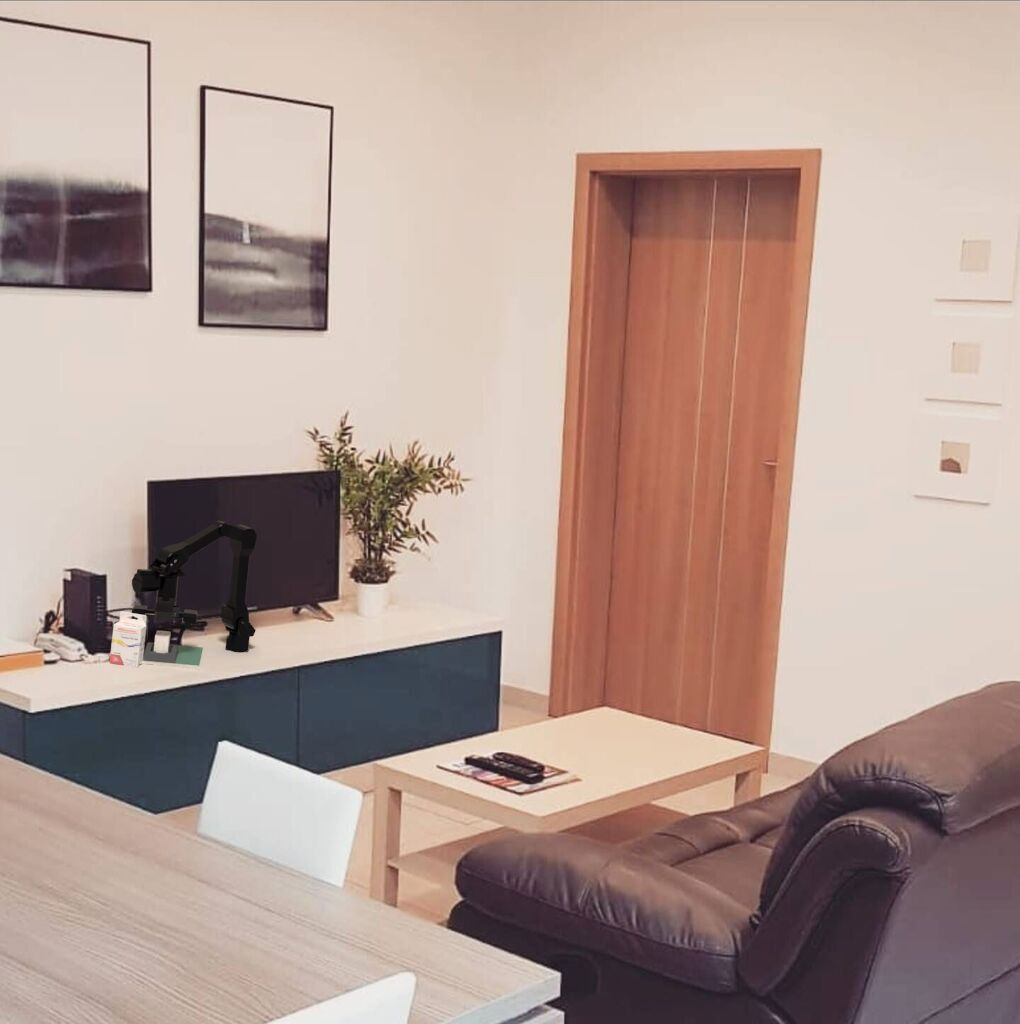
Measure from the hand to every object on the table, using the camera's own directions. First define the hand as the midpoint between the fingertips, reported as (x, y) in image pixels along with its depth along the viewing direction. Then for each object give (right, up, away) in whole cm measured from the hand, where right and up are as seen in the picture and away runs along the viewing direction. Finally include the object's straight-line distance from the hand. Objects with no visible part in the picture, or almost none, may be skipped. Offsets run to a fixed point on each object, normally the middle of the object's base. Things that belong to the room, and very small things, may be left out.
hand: (162, 642), depth 452 cm
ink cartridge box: (-9, -6, -7) cm, 13 cm away
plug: (-1, -4, +1) cm, 4 cm away
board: (+2, -5, +5) cm, 8 cm away
